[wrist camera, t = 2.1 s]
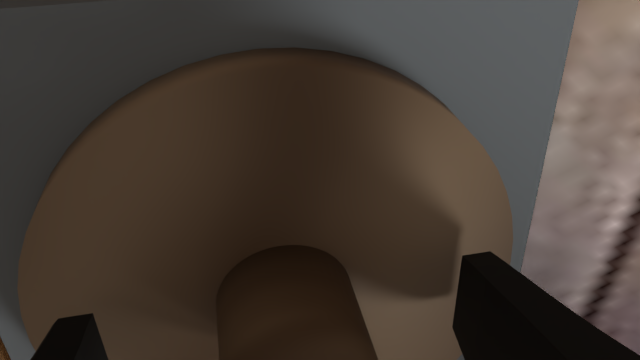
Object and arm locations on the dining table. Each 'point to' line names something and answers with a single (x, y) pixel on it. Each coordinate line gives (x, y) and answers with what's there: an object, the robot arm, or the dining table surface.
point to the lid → (266, 215)
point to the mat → (256, 33)
